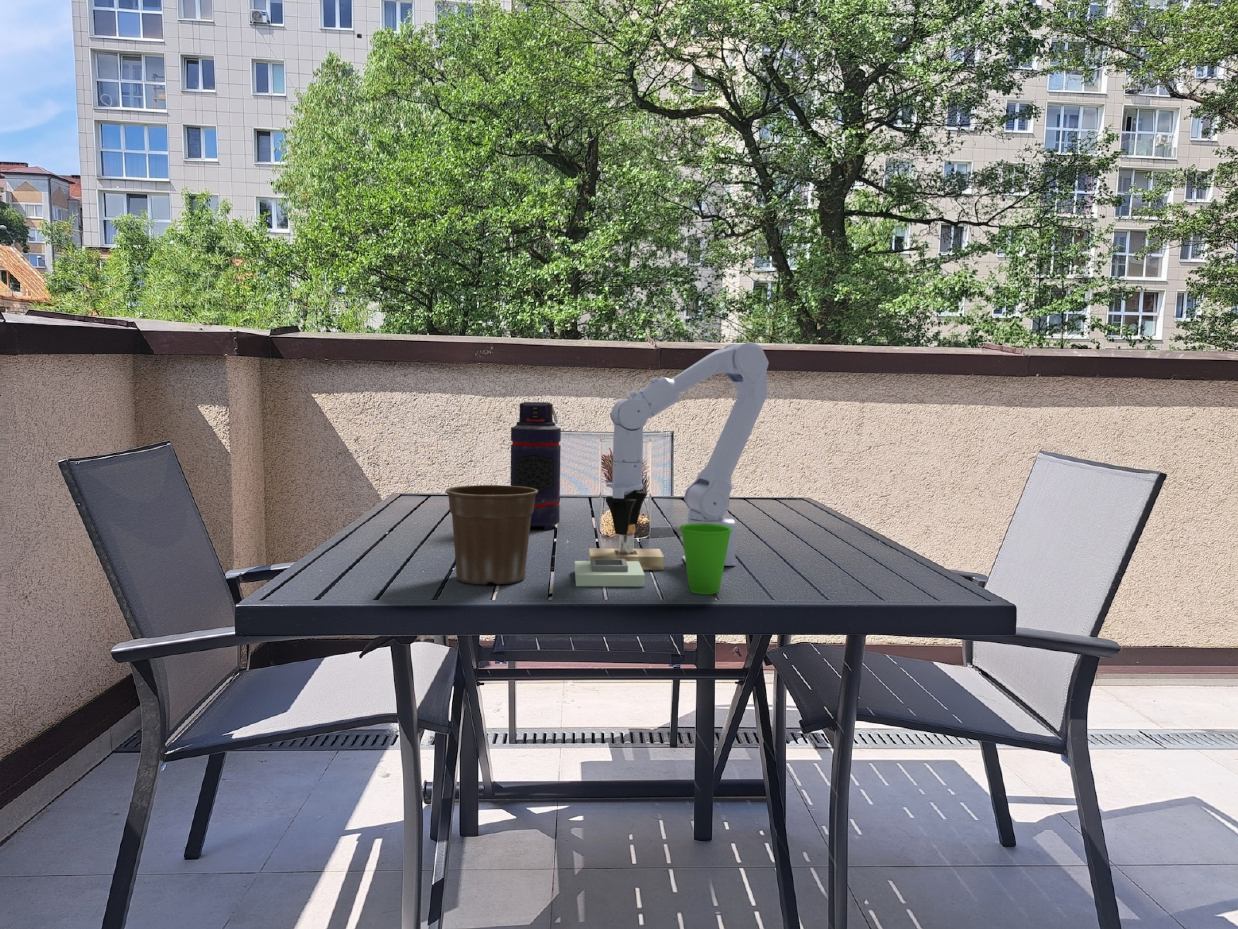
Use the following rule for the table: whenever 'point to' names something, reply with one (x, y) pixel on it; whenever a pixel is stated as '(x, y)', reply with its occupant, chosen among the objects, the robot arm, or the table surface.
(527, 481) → the red-banded navy canister
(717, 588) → the cup
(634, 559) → the mount
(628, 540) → the pin
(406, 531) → the table surface
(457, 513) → the plant pot
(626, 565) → the socket
